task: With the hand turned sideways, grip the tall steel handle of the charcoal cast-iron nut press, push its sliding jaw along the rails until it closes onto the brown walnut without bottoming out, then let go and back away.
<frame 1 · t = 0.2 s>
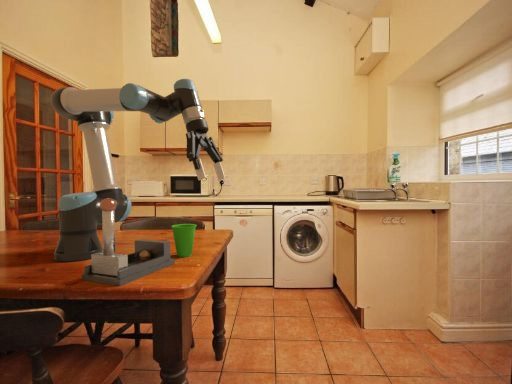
hand: (212, 179, 97), 28 cm above the table, tool tilted 20°, fingers open, 13 cm apart
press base: (132, 270, 84), on the table
cup: (184, 256, 102), on the table
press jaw: (108, 235, 77), point 12 cm above the table, slide at 0.0 cm
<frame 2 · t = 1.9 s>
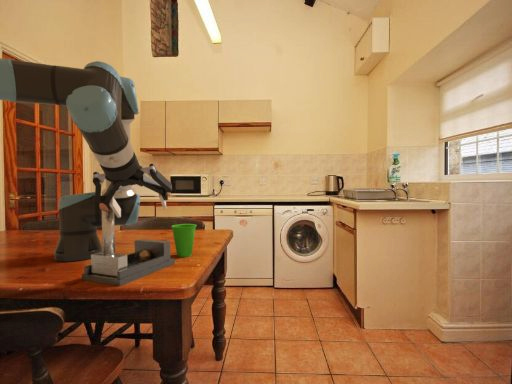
hand: (142, 209, 79), 19 cm above the table, tool tilted 55°, fingers open, 11 cm apart
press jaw: (108, 235, 77), point 12 cm above the table, slide at -0.1 cm, touching gripper
everything else where it was.
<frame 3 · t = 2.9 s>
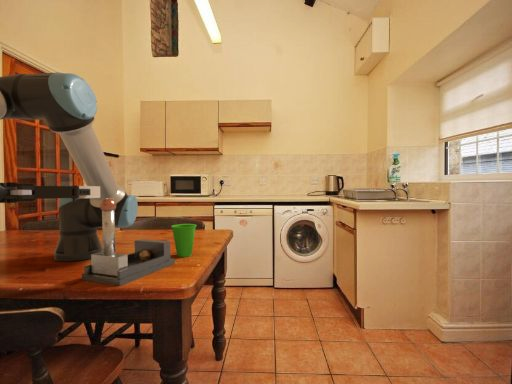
hand: (78, 192, 68), 24 cm above the table, tool horizontal, fingers open, 13 cm apart
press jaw: (108, 235, 77), point 12 cm above the table, slide at 0.0 cm
everything else where it was.
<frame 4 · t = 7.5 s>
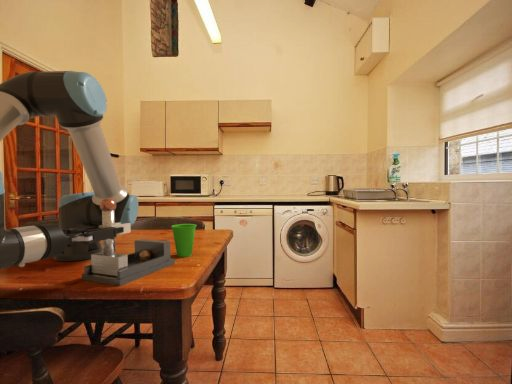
hand: (124, 227, 82), 13 cm above the table, tool horizontal, fingers closed on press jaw, 3 cm apart
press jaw: (108, 235, 77), point 12 cm above the table, slide at 0.0 cm, touching gripper
everything else where it was.
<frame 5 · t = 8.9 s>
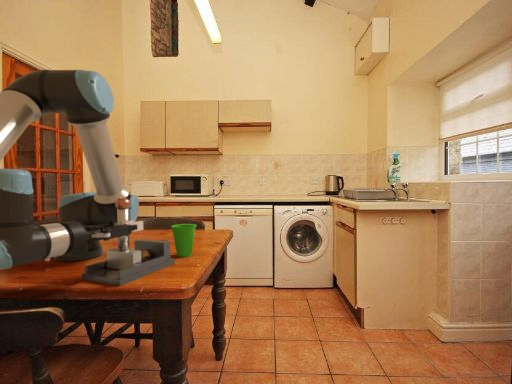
hand: (137, 225, 86), 14 cm above the table, tool horizontal, fingers closed on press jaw, 3 cm apart
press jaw: (123, 232, 81), point 12 cm above the table, slide at 4.9 cm, touching gripper
everything else where it was.
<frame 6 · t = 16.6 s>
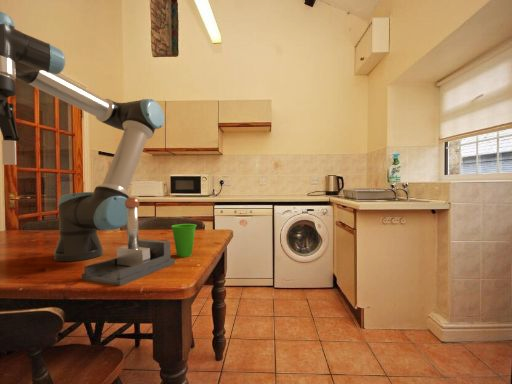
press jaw: (132, 230, 85), point 12 cm above the table, slide at 8.4 cm
everything else where it was.
at the end: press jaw slide at 8.4 cm; the gripper is holding nothing; cup moved 0.2 cm from its start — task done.
